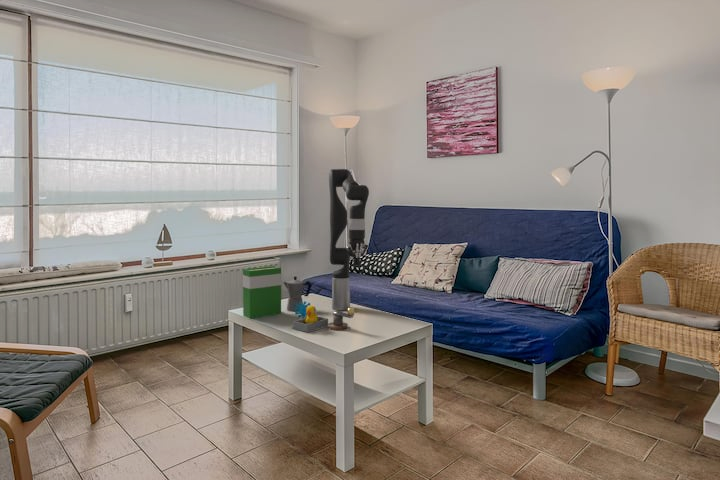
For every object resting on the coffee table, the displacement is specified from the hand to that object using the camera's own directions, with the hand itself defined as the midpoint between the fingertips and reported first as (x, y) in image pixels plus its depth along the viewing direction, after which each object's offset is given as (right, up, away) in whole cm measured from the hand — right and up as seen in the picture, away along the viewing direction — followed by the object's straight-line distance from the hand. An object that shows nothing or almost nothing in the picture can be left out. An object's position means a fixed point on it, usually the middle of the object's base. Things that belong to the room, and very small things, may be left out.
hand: (356, 265), depth 224 cm
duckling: (-21, -29, 0) cm, 35 cm away
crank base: (-9, -29, +1) cm, 30 cm away
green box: (-48, -27, +23) cm, 60 cm away
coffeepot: (-32, -26, +34) cm, 53 cm away
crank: (-6, -23, -2) cm, 24 cm away
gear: (-26, -27, +19) cm, 42 cm away
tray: (-21, -29, +1) cm, 36 cm away
